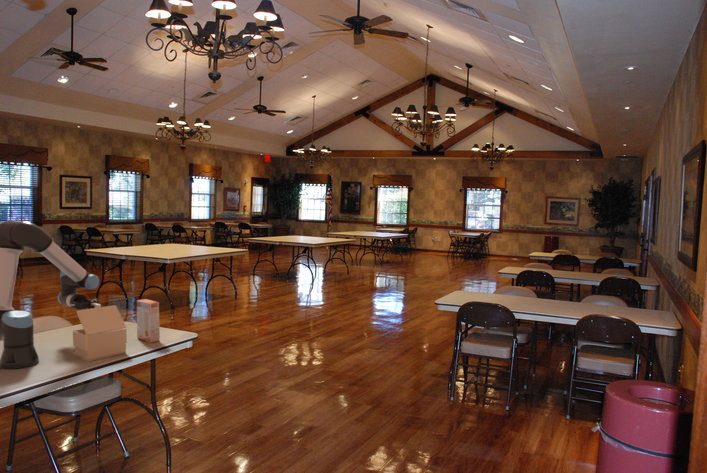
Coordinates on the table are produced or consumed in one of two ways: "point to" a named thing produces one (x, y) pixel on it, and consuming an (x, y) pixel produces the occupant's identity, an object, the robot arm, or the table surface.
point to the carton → (99, 344)
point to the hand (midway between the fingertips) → (99, 307)
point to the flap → (100, 319)
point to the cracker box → (148, 320)
